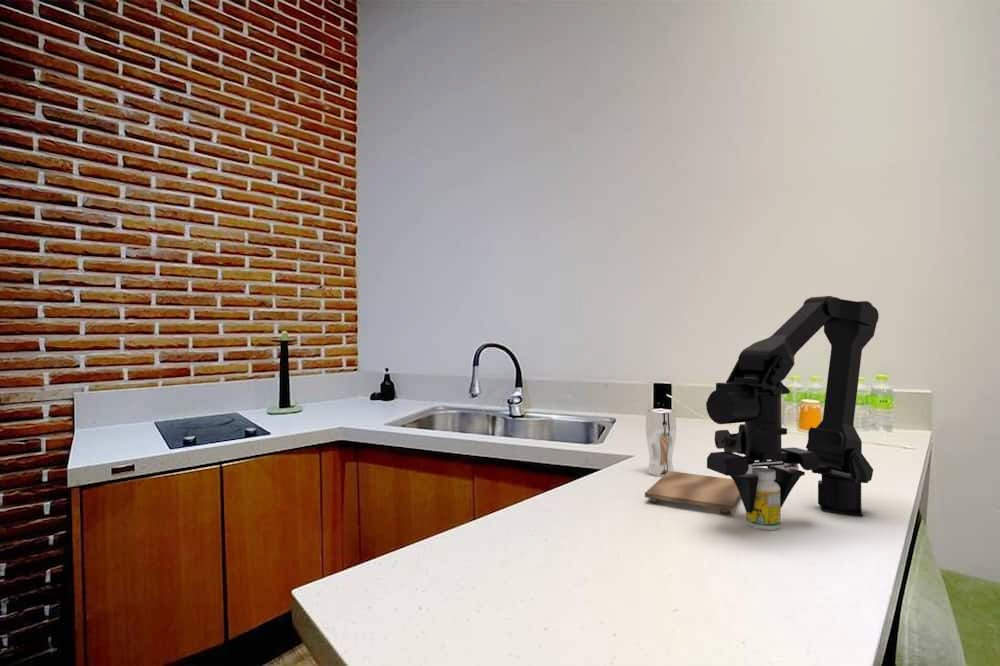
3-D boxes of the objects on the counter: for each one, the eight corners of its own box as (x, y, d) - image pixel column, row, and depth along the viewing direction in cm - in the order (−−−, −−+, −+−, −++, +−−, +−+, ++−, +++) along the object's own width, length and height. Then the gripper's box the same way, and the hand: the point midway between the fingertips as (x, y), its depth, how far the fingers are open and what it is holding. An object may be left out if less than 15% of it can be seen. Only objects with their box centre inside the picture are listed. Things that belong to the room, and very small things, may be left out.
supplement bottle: (787, 529, 92) (787, 472, 92) (762, 532, 90) (762, 474, 90) (763, 518, 97) (763, 465, 97) (738, 521, 95) (738, 467, 95)
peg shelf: (745, 490, 115) (745, 480, 115) (733, 517, 98) (733, 506, 98) (668, 479, 123) (668, 471, 123) (644, 503, 106) (644, 492, 106)
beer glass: (680, 477, 125) (680, 412, 125) (649, 477, 125) (649, 412, 125) (671, 469, 132) (671, 408, 132) (642, 469, 132) (642, 408, 132)
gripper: (773, 412, 104) (773, 493, 104) (687, 415, 99) (687, 501, 99) (821, 421, 93) (821, 512, 93) (728, 425, 88) (728, 521, 88)
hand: (762, 510), depth 93 cm, fingers closed on supplement bottle, 5 cm apart
